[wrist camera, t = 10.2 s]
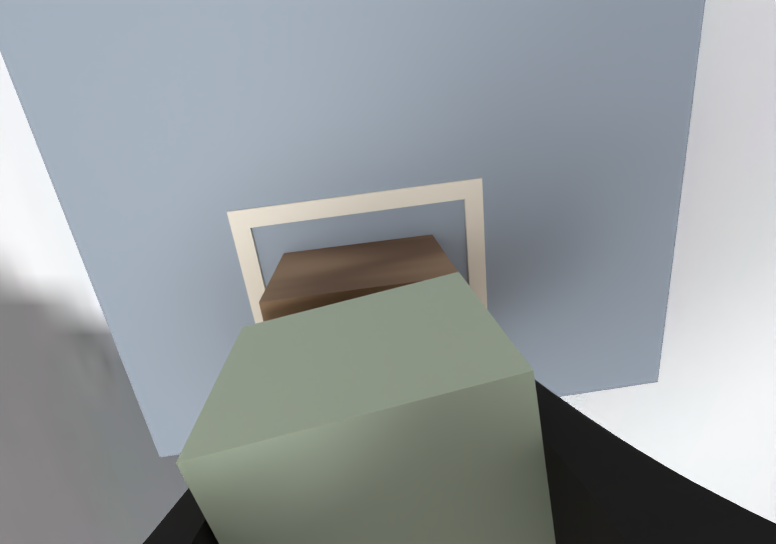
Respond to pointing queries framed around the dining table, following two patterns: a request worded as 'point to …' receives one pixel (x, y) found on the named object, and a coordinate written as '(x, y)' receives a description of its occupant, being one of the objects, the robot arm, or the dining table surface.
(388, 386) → the sage block
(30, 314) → the dining table surface
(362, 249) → the walnut block
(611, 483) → the robot arm
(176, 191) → the board
